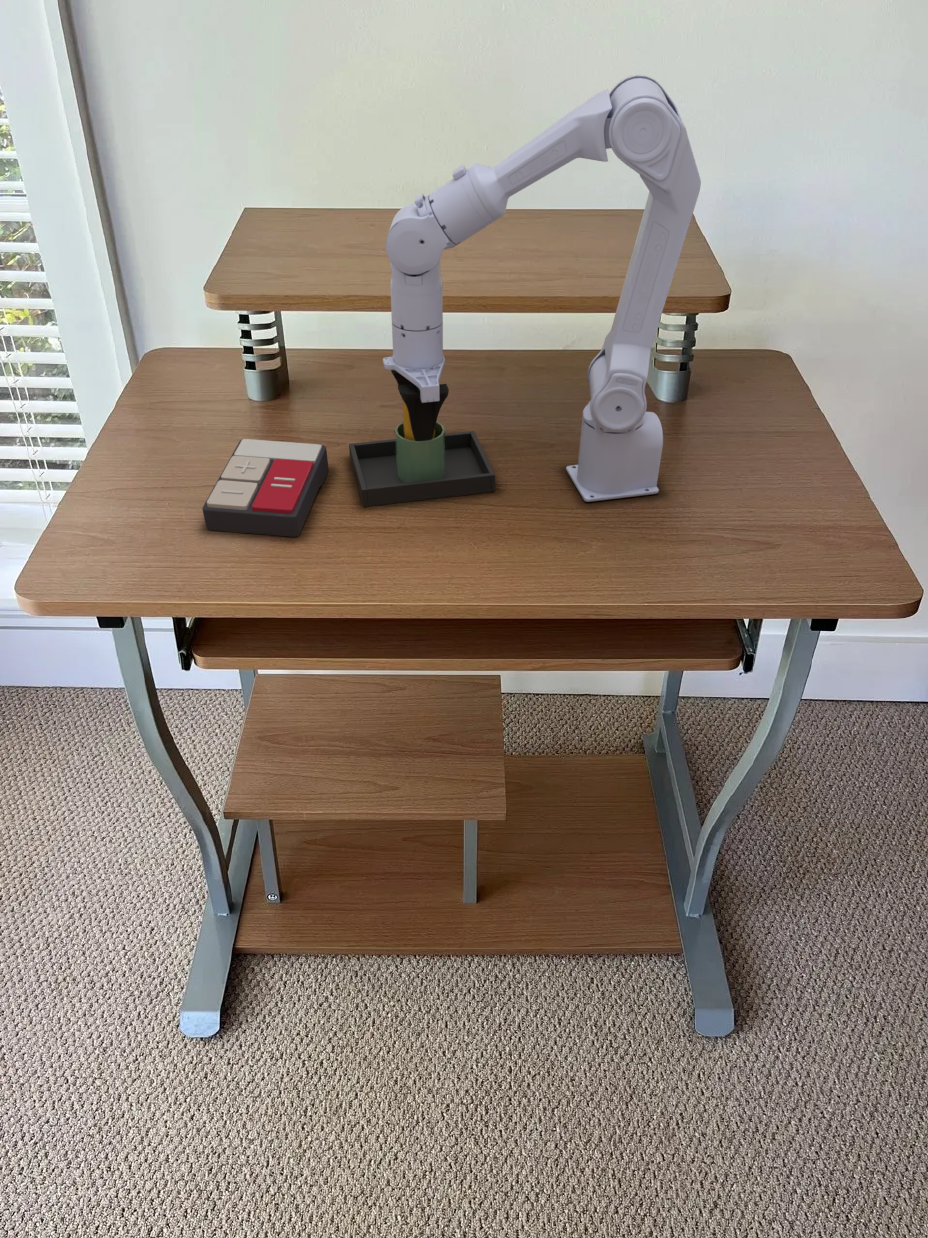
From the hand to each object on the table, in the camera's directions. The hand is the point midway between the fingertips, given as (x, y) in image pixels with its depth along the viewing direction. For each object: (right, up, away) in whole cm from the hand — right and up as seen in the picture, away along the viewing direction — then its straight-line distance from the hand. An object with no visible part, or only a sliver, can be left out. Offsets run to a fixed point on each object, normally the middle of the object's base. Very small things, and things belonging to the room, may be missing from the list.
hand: (419, 429), depth 119 cm
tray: (0, -5, +4) cm, 6 cm away
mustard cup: (0, -1, +1) cm, 1 cm away
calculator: (-18, -9, 0) cm, 20 cm away
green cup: (0, -5, +4) cm, 6 cm away
